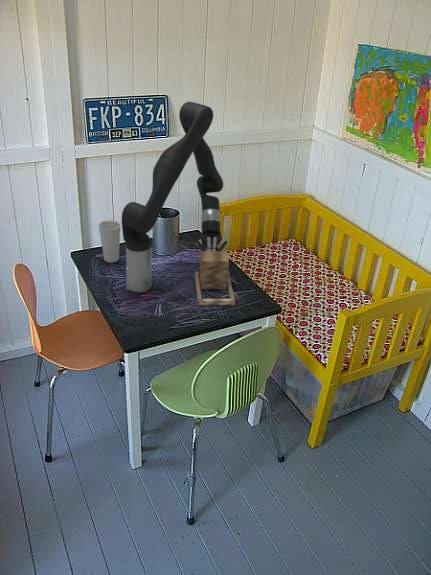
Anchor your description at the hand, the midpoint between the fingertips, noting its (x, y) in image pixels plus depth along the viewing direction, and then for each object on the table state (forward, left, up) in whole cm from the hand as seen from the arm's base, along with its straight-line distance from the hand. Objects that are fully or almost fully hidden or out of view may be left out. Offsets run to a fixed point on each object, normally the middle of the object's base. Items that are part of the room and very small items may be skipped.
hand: (211, 264), depth 213 cm
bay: (0, -11, -6) cm, 13 cm away
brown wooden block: (0, -7, -5) cm, 8 cm away
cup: (-40, +14, -6) cm, 43 cm away
